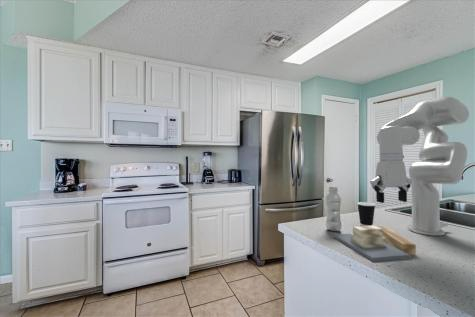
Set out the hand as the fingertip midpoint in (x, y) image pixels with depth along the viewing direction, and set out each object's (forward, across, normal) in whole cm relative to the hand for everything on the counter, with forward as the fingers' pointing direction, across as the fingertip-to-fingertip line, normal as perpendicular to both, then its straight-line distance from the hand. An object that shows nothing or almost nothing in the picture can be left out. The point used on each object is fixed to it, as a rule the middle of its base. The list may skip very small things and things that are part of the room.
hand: (391, 201), depth 86 cm
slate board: (+16, +12, +2) cm, 20 cm away
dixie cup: (+17, -6, -22) cm, 28 cm away
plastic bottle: (+16, +14, -18) cm, 28 cm away
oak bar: (+17, 0, 0) cm, 17 cm away
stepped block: (+15, +12, +1) cm, 19 cm away
